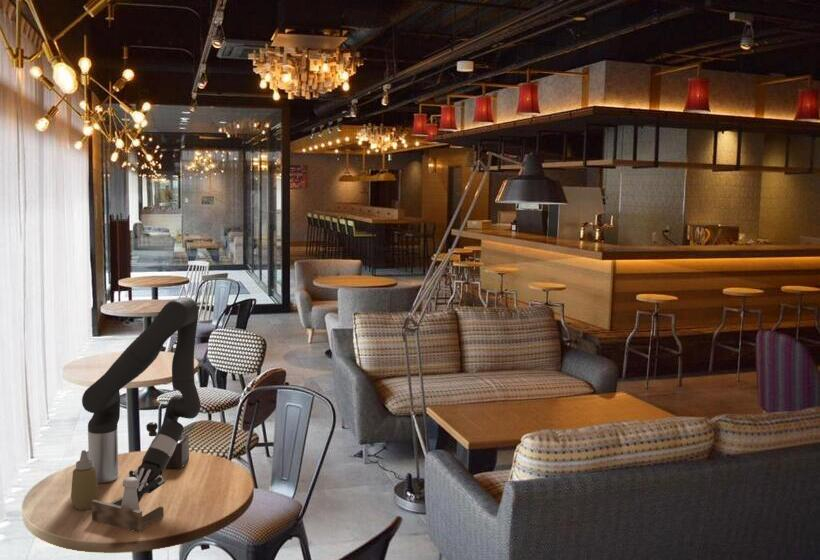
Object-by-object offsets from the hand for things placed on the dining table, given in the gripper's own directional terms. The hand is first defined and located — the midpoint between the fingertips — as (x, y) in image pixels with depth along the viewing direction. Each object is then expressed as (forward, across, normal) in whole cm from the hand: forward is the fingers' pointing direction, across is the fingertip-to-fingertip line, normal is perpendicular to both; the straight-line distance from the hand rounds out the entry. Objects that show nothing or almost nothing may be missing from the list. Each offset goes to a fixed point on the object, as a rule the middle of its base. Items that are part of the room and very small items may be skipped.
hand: (132, 503), depth 226 cm
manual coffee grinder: (-22, -17, +28) cm, 40 cm away
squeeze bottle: (+4, -18, +2) cm, 19 cm away
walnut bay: (+4, 0, +2) cm, 4 cm away
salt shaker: (+5, +1, +1) cm, 5 cm away
